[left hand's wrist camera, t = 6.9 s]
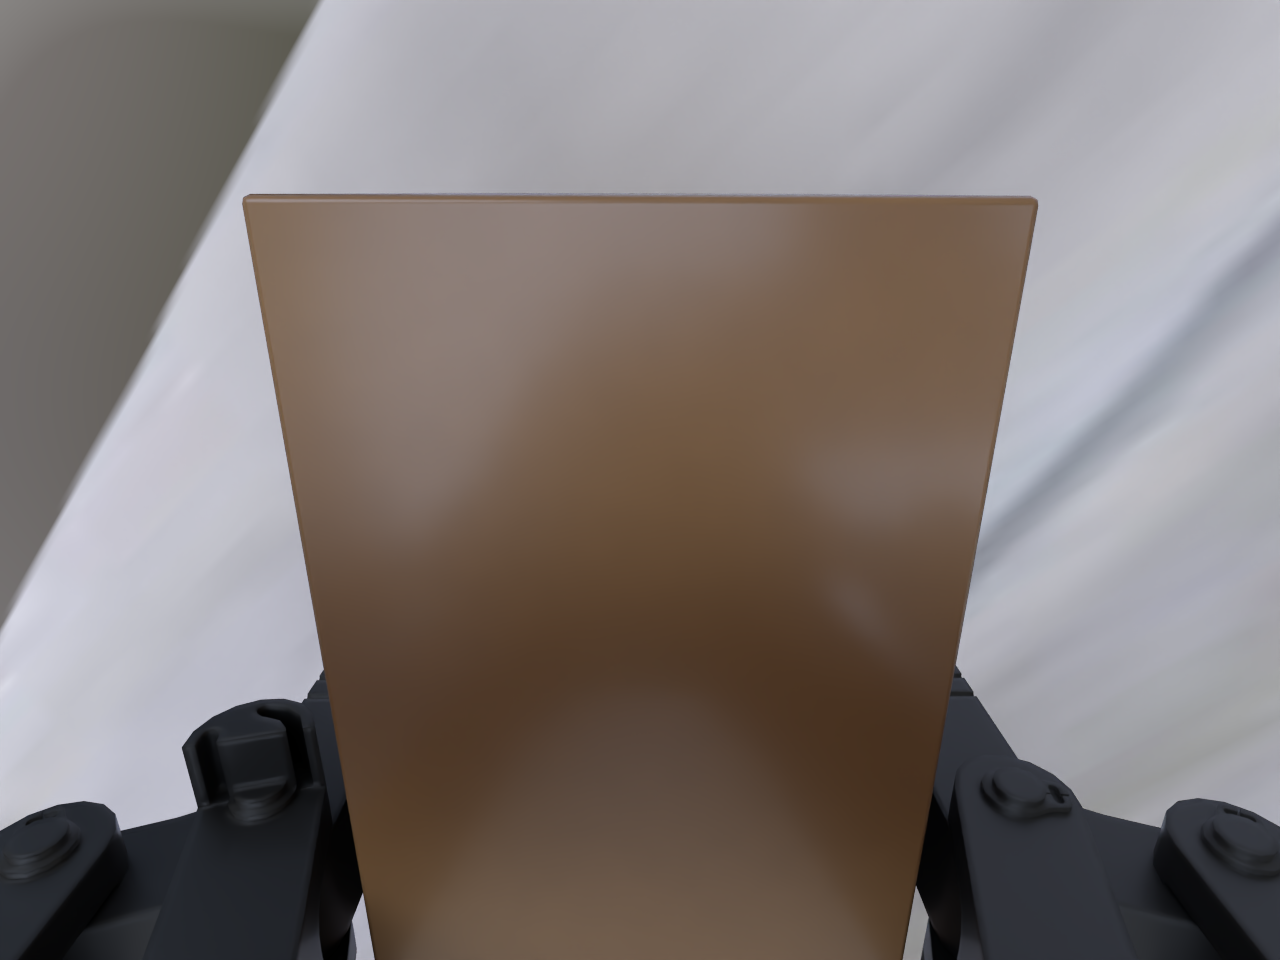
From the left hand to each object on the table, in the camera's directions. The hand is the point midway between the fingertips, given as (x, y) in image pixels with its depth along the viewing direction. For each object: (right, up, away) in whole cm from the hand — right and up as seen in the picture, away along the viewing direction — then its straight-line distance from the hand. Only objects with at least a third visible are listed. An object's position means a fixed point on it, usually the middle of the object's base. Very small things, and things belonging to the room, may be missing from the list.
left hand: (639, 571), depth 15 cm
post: (0, -21, +9) cm, 23 cm away
